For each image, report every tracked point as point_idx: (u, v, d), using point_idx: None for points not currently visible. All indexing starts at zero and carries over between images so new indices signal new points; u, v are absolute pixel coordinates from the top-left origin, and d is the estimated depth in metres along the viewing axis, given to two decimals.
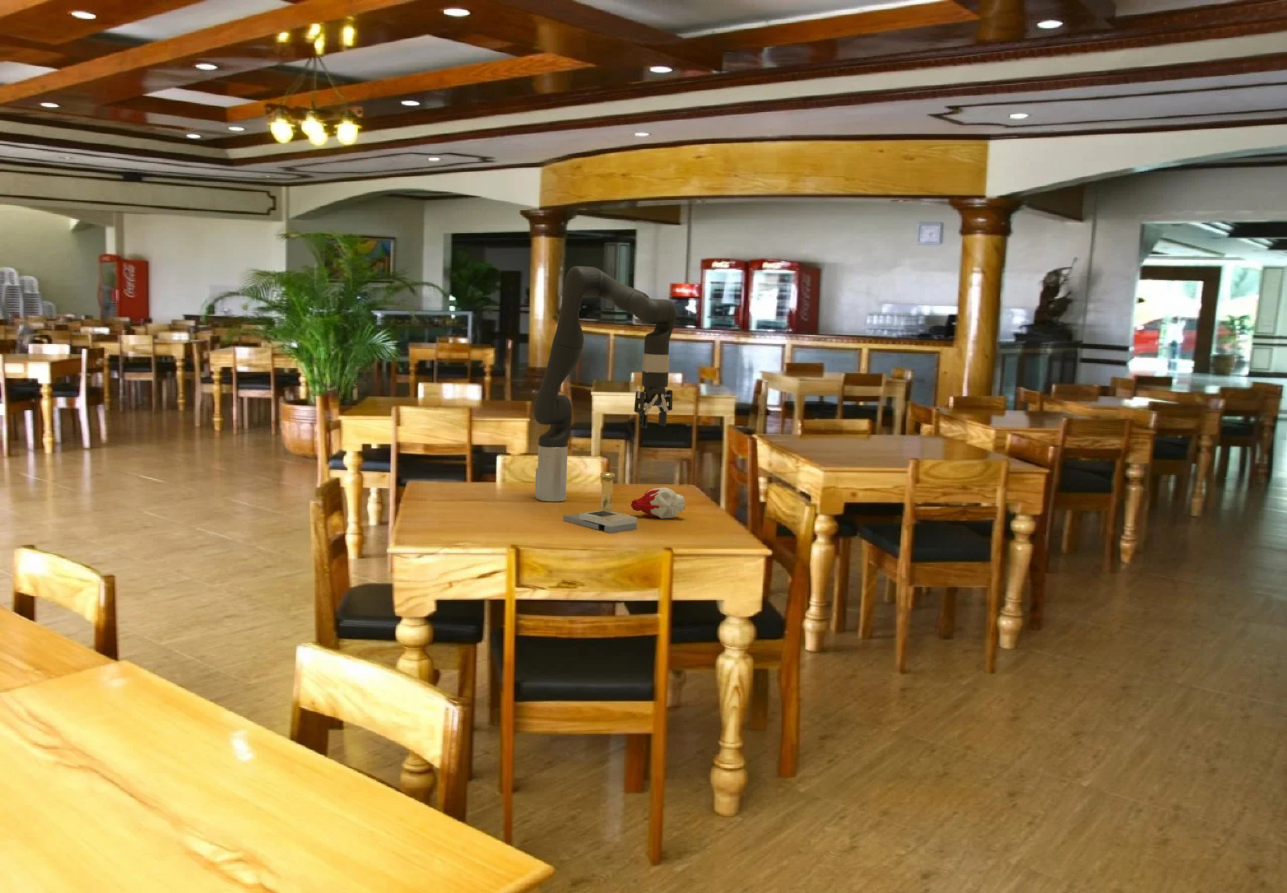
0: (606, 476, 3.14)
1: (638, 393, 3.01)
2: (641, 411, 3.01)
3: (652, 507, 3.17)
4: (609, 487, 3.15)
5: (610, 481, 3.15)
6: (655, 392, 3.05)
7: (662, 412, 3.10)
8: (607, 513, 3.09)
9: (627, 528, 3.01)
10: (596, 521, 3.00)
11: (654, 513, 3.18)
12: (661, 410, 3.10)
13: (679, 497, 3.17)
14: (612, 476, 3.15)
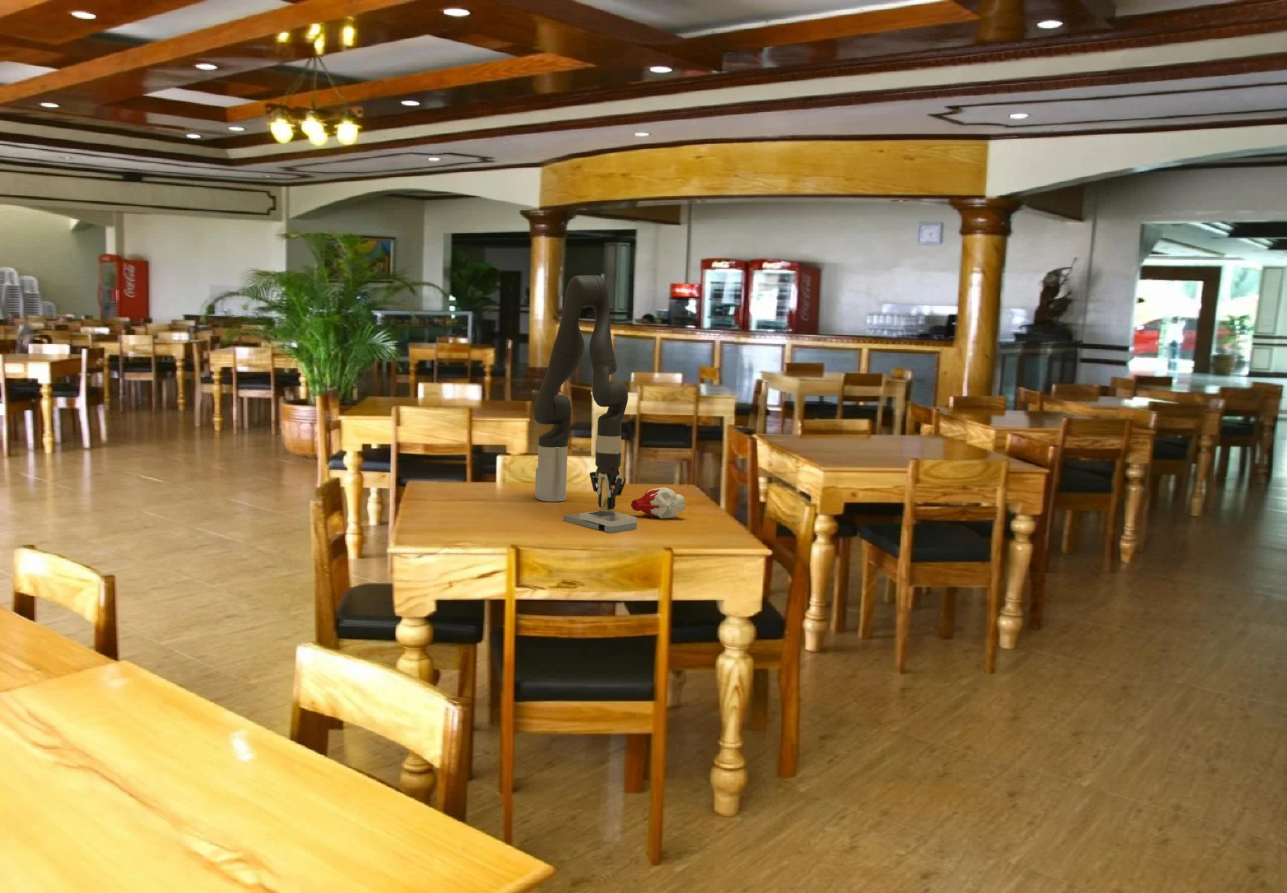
0: None
1: (622, 481, 3.12)
2: None
3: (652, 507, 3.17)
4: None
5: None
6: None
7: None
8: (607, 513, 3.09)
9: (627, 528, 3.01)
10: (596, 521, 3.00)
11: (654, 513, 3.18)
12: (601, 492, 3.18)
13: (679, 497, 3.17)
14: None
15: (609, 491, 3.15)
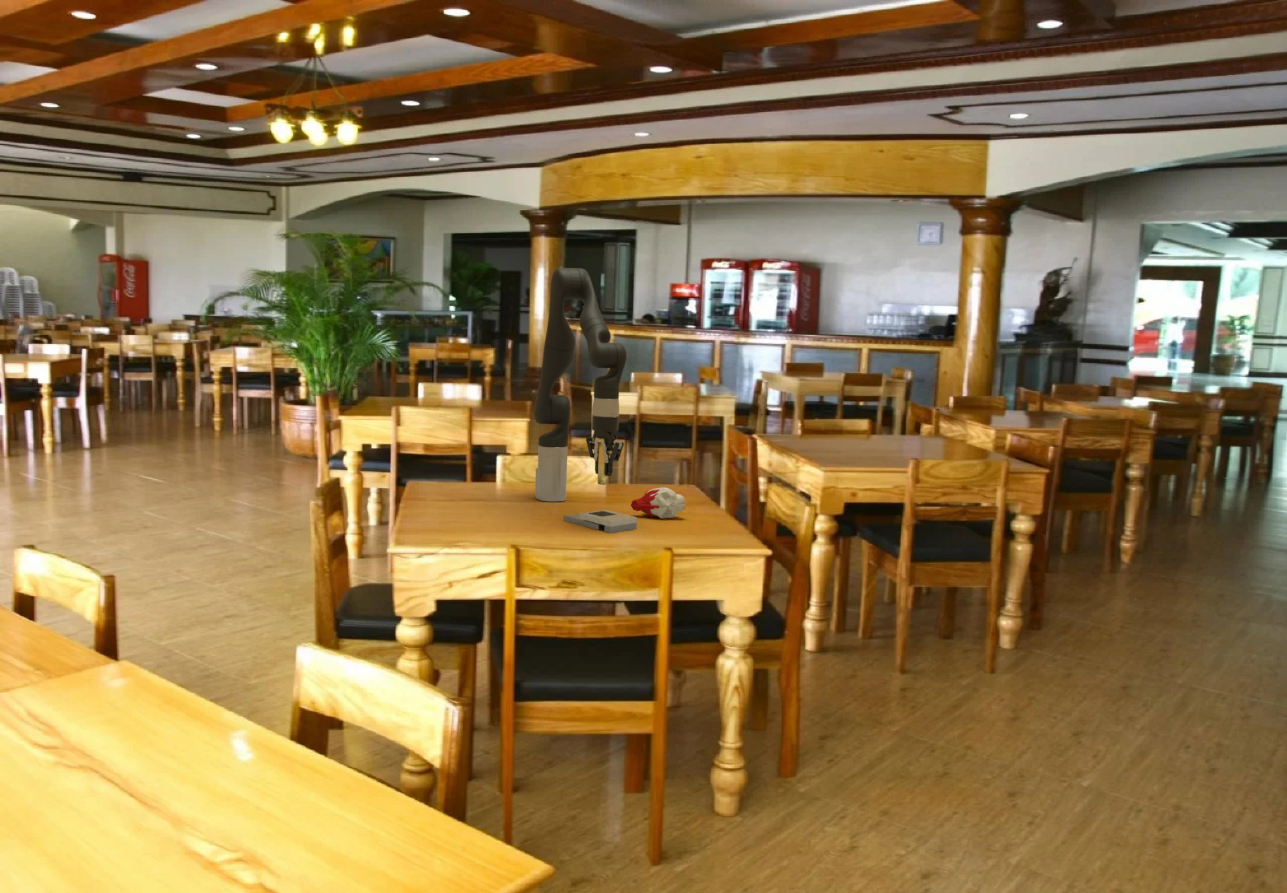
0: None
1: (620, 445, 2.98)
2: None
3: (652, 507, 3.17)
4: None
5: None
6: None
7: None
8: (607, 513, 3.09)
9: (627, 528, 3.01)
10: (596, 521, 3.00)
11: (654, 513, 3.18)
12: None
13: (679, 497, 3.17)
14: None
15: (606, 456, 3.01)
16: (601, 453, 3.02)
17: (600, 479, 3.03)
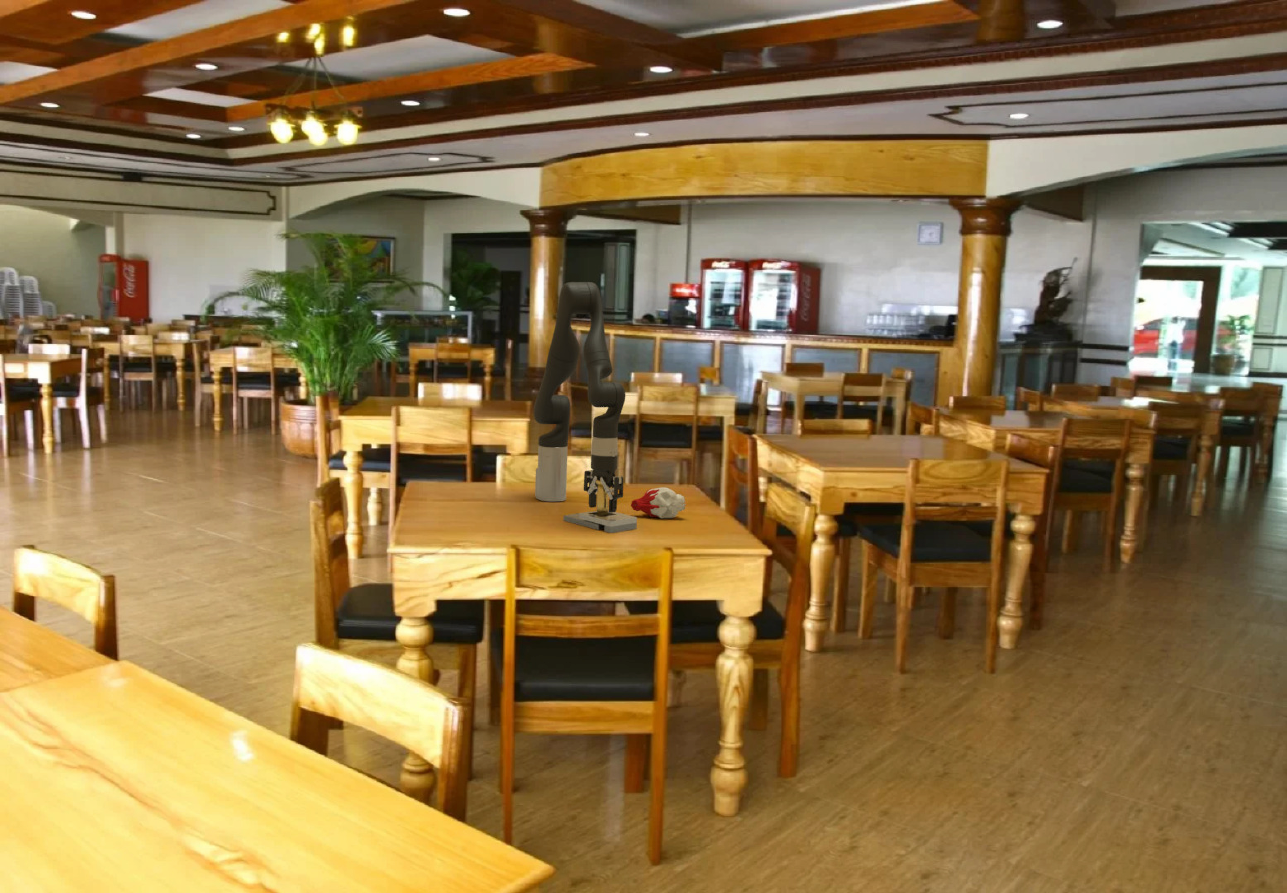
0: None
1: (619, 479, 2.99)
2: None
3: (652, 507, 3.17)
4: (605, 494, 3.04)
5: None
6: None
7: (593, 494, 3.08)
8: None
9: (627, 528, 3.01)
10: (596, 521, 3.00)
11: (654, 513, 3.18)
12: (592, 492, 3.08)
13: (679, 497, 3.17)
14: None
15: (609, 493, 3.01)
16: (600, 495, 3.04)
17: None
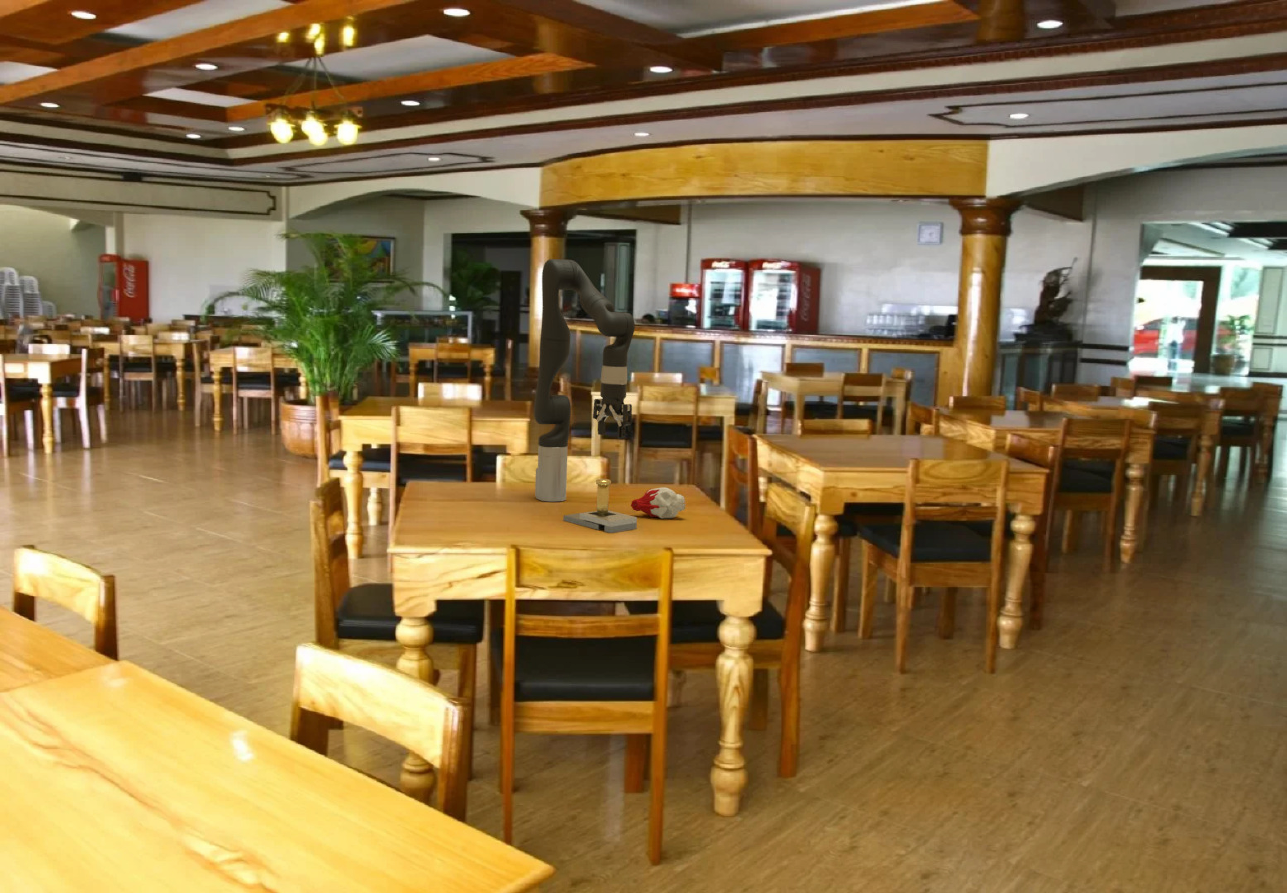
0: (602, 483, 3.02)
1: (628, 406, 3.08)
2: None
3: (652, 507, 3.17)
4: (605, 494, 3.04)
5: (606, 488, 3.04)
6: None
7: (602, 421, 3.16)
8: None
9: (627, 528, 3.01)
10: (596, 521, 3.00)
11: (654, 513, 3.18)
12: (601, 419, 3.16)
13: (679, 497, 3.17)
14: (608, 483, 3.03)
15: (618, 420, 3.09)
16: (600, 495, 3.04)
17: None
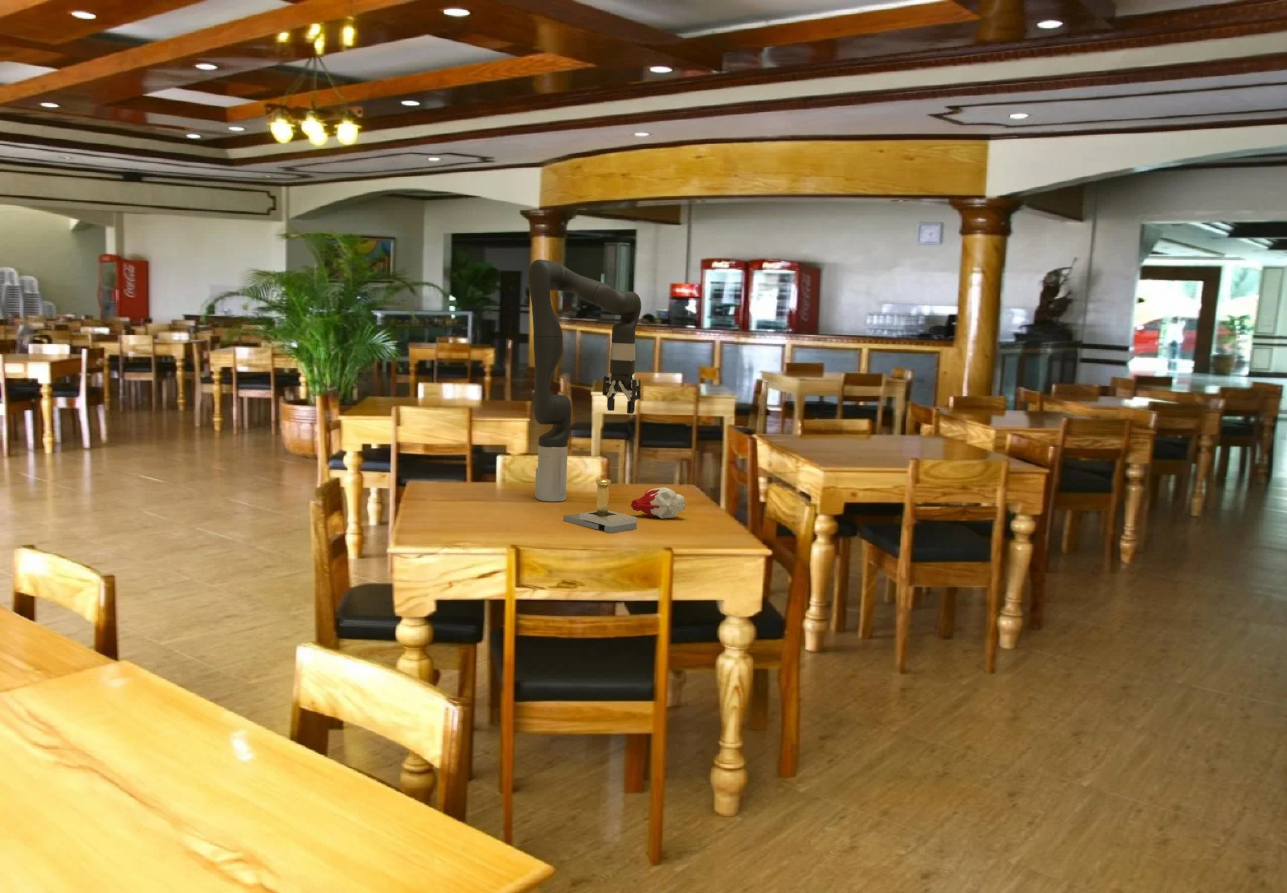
0: (602, 483, 3.03)
1: (637, 381, 3.19)
2: None
3: (652, 507, 3.17)
4: (605, 494, 3.04)
5: (606, 488, 3.04)
6: None
7: (612, 398, 3.28)
8: None
9: (627, 528, 3.01)
10: (596, 521, 3.00)
11: (654, 513, 3.18)
12: (610, 396, 3.27)
13: (679, 497, 3.17)
14: (608, 483, 3.03)
15: (628, 395, 3.21)
16: (600, 495, 3.04)
17: None
